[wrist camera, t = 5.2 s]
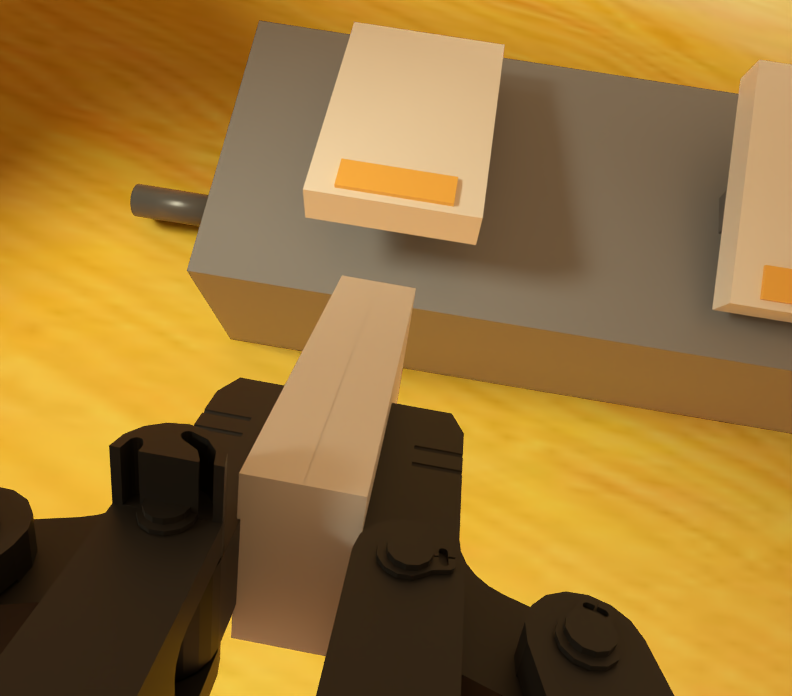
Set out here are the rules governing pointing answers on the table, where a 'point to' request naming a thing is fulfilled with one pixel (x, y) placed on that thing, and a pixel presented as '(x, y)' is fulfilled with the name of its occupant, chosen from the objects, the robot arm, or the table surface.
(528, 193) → the rocker switch box
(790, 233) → the rocker
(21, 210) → the table surface
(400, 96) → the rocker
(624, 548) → the table surface
